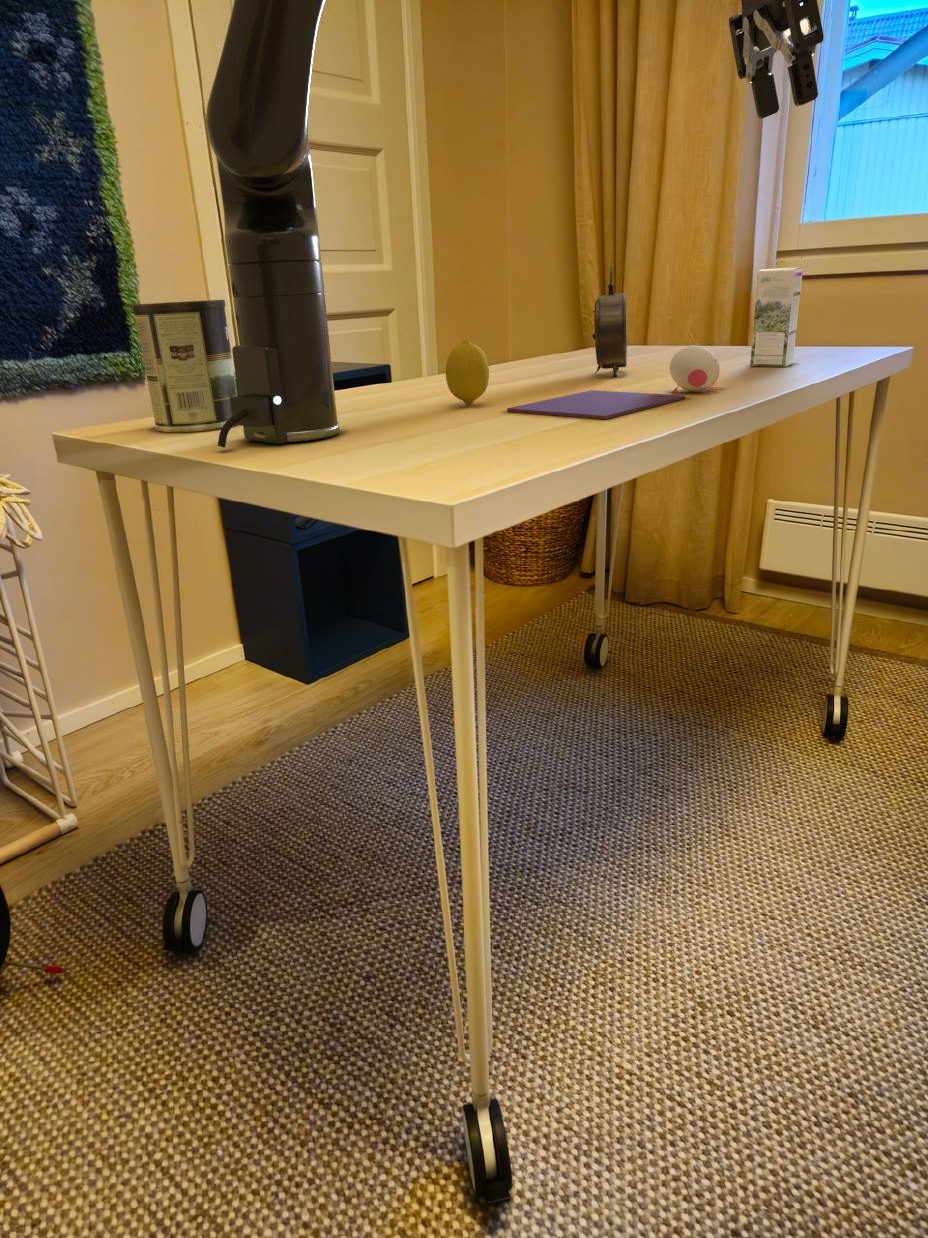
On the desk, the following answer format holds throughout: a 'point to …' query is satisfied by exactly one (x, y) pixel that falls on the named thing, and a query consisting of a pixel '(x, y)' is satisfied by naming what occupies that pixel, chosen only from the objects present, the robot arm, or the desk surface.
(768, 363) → the syrup box
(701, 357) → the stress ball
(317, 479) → the desk surface
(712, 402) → the desk surface
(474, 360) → the lemon
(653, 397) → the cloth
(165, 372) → the coffee can
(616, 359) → the alarm clock
